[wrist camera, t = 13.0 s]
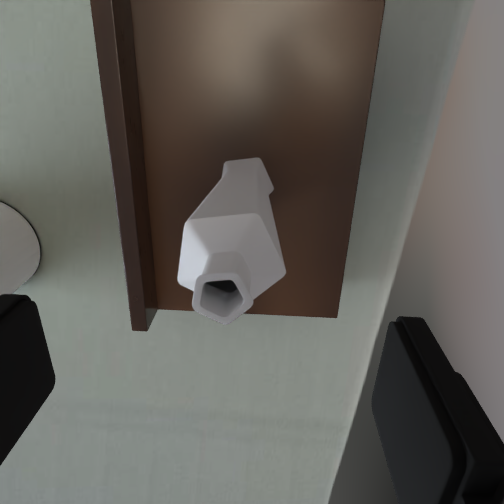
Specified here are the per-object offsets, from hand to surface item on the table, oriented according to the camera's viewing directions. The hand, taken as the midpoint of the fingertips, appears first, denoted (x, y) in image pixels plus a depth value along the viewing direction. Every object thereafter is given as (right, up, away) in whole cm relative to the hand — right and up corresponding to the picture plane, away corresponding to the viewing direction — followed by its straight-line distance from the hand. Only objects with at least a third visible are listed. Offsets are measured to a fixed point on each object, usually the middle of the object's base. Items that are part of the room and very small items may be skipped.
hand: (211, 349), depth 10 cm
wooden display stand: (+1, +10, +21) cm, 24 cm away
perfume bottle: (+1, +8, +17) cm, 18 cm away
